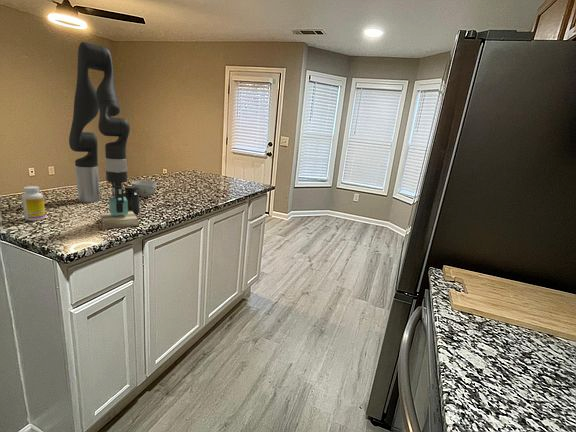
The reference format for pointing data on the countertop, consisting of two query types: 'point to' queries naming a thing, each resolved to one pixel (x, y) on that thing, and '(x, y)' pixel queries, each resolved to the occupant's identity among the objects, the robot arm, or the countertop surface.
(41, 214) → the supplement bottle
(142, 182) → the teacup
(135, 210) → the supplement bottle
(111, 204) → the teal cube
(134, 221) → the birch pedestal
